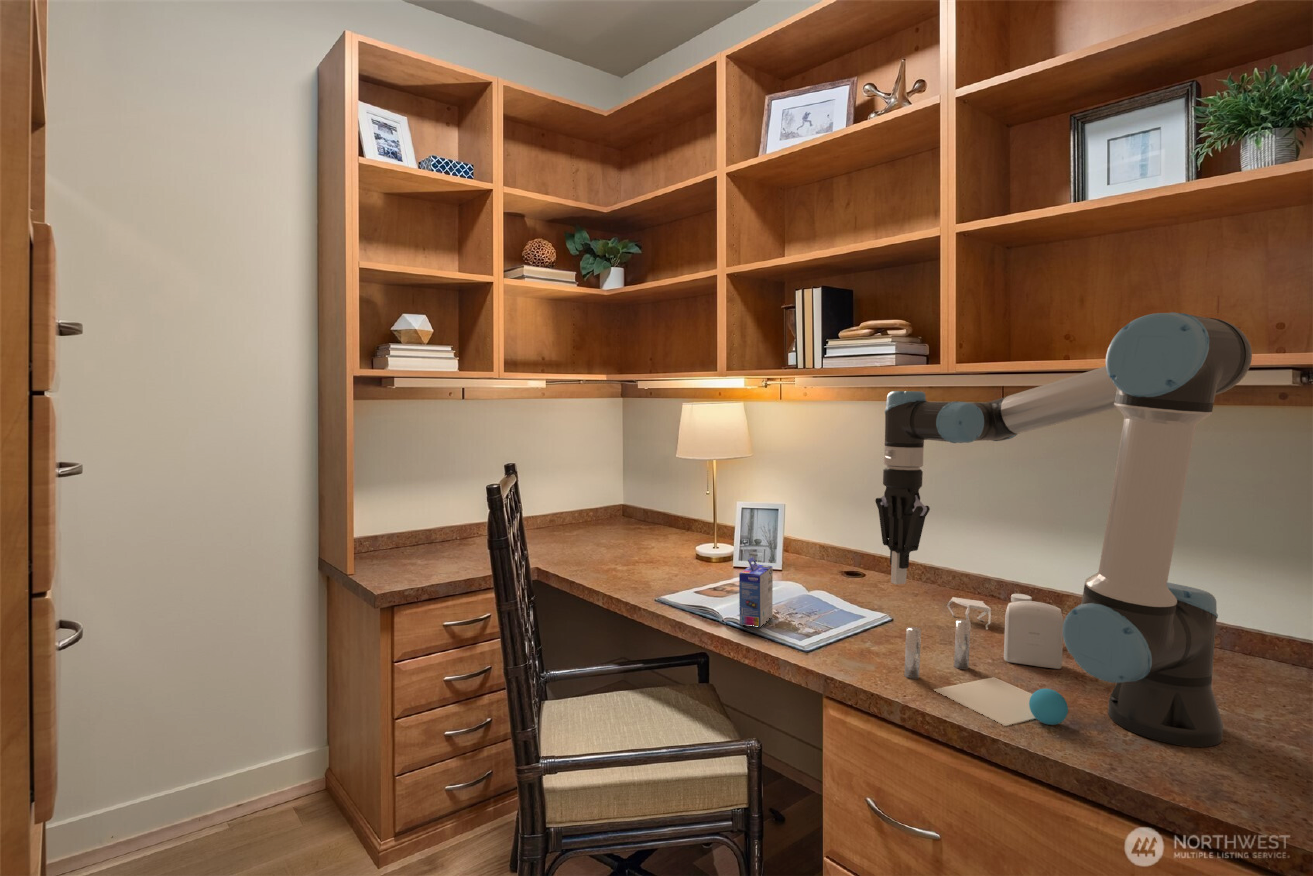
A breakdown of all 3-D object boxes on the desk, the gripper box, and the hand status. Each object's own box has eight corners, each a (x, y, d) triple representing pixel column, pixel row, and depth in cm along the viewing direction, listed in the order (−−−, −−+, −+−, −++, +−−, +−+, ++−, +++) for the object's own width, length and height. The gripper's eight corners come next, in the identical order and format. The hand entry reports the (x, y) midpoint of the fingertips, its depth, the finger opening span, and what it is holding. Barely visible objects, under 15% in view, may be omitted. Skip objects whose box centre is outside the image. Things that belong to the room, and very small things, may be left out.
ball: (1045, 715, 120) (1076, 726, 115) (1022, 721, 117) (1053, 732, 112) (1043, 682, 120) (1075, 691, 115) (1020, 687, 118) (1051, 696, 113)
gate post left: (922, 677, 134) (924, 630, 134) (911, 679, 133) (913, 632, 133) (912, 672, 137) (913, 626, 136) (901, 674, 135) (903, 627, 135)
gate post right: (971, 668, 139) (973, 622, 139) (961, 670, 138) (963, 624, 138) (960, 663, 142) (962, 618, 141) (951, 665, 141) (953, 620, 140)
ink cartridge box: (750, 613, 172) (752, 553, 171) (773, 617, 170) (774, 556, 169) (737, 625, 163) (738, 562, 162) (760, 629, 161) (762, 565, 160)
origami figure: (1002, 624, 167) (1003, 603, 167) (989, 632, 162) (990, 610, 161) (951, 612, 176) (952, 592, 176) (936, 619, 170) (937, 599, 170)
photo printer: (1003, 663, 143) (1006, 601, 142) (1002, 656, 146) (1005, 596, 146) (1062, 672, 138) (1066, 608, 138) (1060, 664, 142) (1063, 603, 142)
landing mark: (1068, 710, 121) (1068, 709, 121) (1005, 726, 115) (1005, 725, 115) (993, 678, 135) (993, 677, 135) (933, 690, 128) (933, 689, 128)
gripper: (866, 464, 149) (862, 577, 151) (912, 471, 138) (907, 593, 139) (894, 464, 153) (890, 573, 154) (941, 470, 141) (936, 589, 142)
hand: (898, 582), depth 146 cm, fingers closed
